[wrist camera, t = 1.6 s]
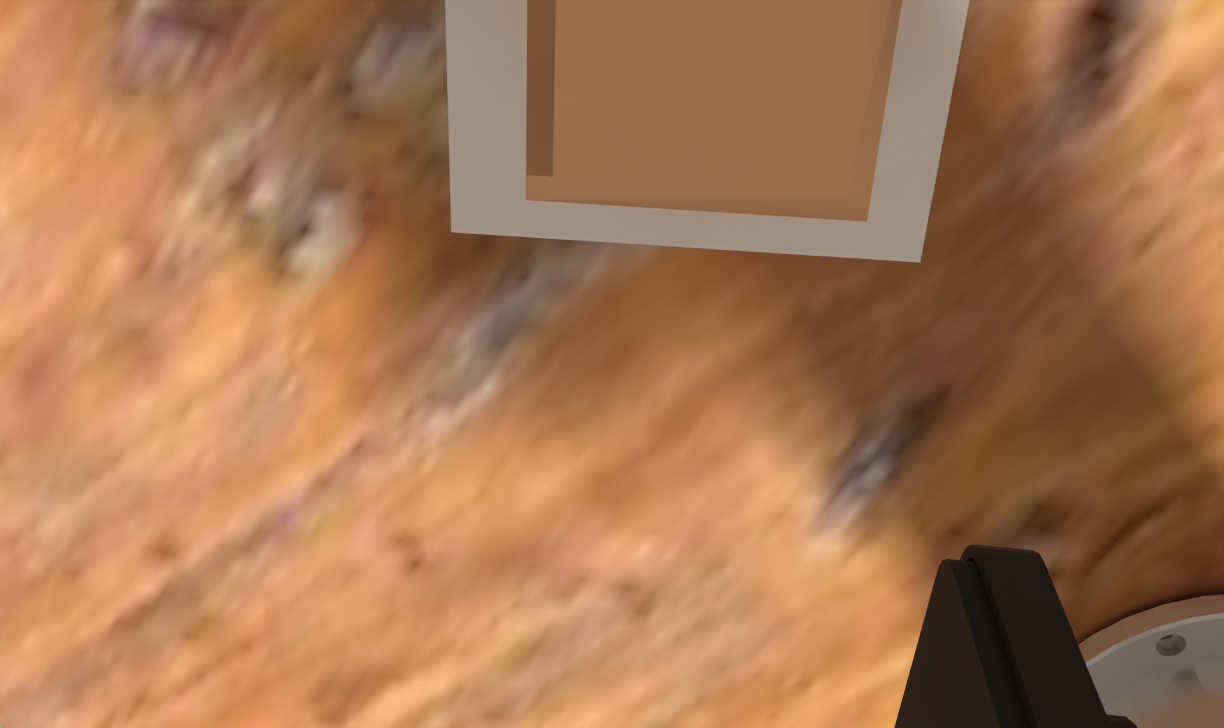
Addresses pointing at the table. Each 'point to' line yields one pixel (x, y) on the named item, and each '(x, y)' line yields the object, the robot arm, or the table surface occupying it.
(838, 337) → the table surface
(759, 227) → the post board
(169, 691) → the table surface
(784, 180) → the brown block
